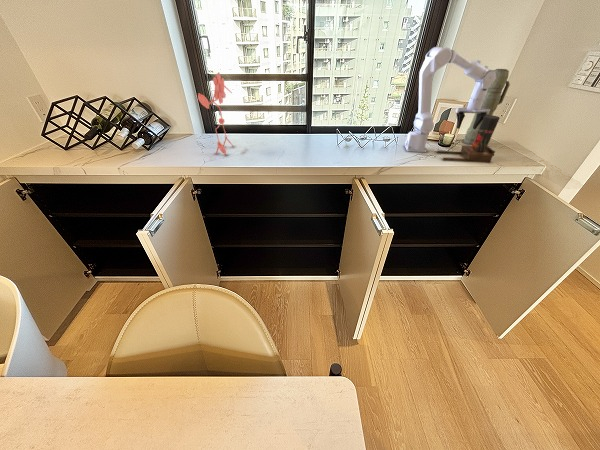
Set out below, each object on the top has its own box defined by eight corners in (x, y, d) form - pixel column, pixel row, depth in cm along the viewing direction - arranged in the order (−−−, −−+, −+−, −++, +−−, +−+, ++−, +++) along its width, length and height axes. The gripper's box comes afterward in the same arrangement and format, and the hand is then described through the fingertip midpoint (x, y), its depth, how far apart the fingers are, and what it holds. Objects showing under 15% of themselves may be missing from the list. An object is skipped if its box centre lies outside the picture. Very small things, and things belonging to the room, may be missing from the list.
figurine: (207, 160, 123) (188, 76, 102) (227, 142, 143) (214, 69, 122) (238, 162, 121) (225, 77, 100) (253, 143, 142) (245, 69, 121)
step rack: (443, 160, 123) (447, 149, 120) (437, 152, 131) (440, 141, 128) (490, 162, 120) (496, 151, 117) (481, 154, 129) (486, 143, 125)
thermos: (487, 145, 139) (520, 70, 118) (464, 145, 139) (494, 70, 118) (479, 140, 146) (509, 68, 125) (457, 139, 146) (484, 68, 125)
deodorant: (487, 152, 120) (502, 119, 111) (473, 151, 121) (487, 118, 112) (482, 148, 125) (496, 115, 116) (469, 147, 126) (482, 114, 117)
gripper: (463, 100, 118) (453, 130, 126) (497, 101, 117) (484, 131, 125) (458, 97, 124) (448, 126, 132) (490, 97, 122) (478, 127, 130)
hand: (465, 128), depth 129 cm, fingers open, 7 cm apart
